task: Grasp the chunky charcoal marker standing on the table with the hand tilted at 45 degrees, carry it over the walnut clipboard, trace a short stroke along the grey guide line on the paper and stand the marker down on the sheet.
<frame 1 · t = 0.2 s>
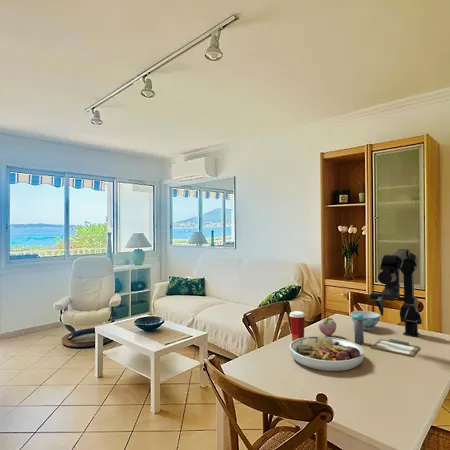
hand: (393, 317, 149), 14 cm above the table, tool pointing down, fingers open, 9 cm apart
chinaware: (365, 328, 181), on the table
decorative fruit: (327, 336, 168), on the table
marker: (359, 342, 158), on the table
bowl: (325, 359, 139), on the table
paper cup: (297, 341, 162), on the table
clipboard: (395, 348, 150), on the table
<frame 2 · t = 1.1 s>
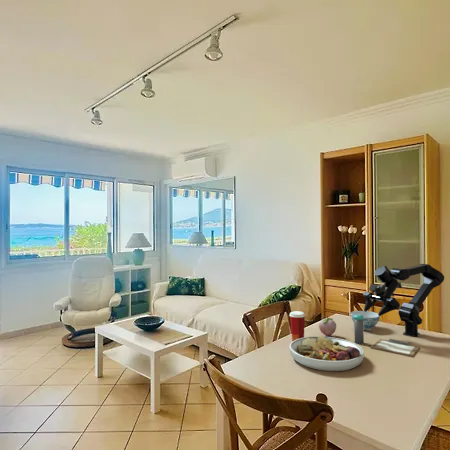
hand: (371, 313, 160), 13 cm above the table, tool tilted 45°, fingers open, 9 cm apart
nothing on the table moved.
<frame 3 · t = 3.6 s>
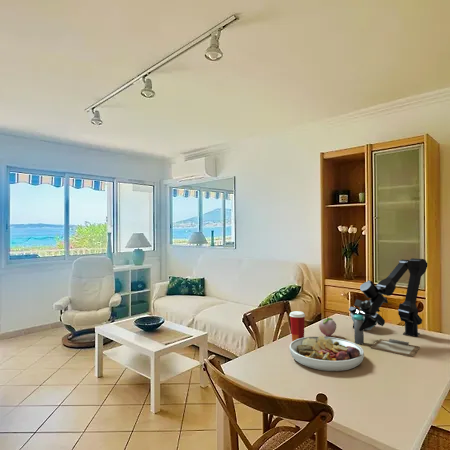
hand: (356, 329, 157), 7 cm above the table, tool tilted 45°, fingers closed on marker, 4 cm apart
marker: (359, 342, 158), on the table, touching gripper
everything else where it was.
when the fingers open (8 cm above the table, at t = 8.4 s): marker stays where it is, resting on clipboard.
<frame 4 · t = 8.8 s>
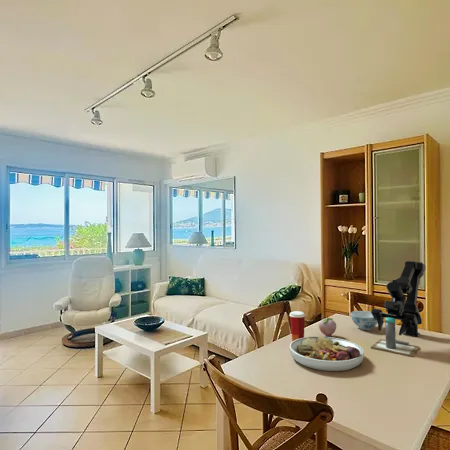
hand: (389, 333, 147), 8 cm above the table, tool tilted 45°, fingers open, 8 cm apart
marker: (390, 347, 149), point 1 cm above the table, touching clipboard
everything else where it was.
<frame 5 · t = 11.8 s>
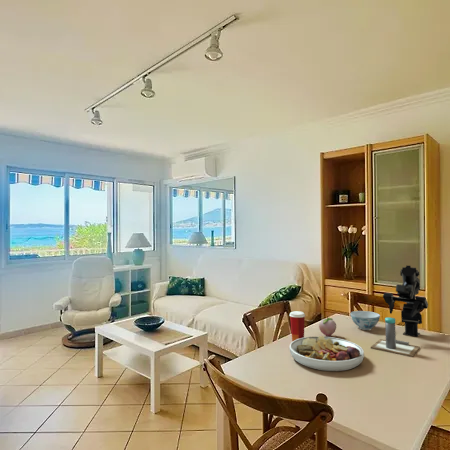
hand: (400, 315, 155), 14 cm above the table, tool tilted 45°, fingers open, 9 cm apart
nothing on the table moved.
at the end: marker inside the target area on the clipboard (2.8 cm from its centre), point 0.7 cm above the clipboard's base; marker tilted 0°; the gripper is holding nothing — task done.
